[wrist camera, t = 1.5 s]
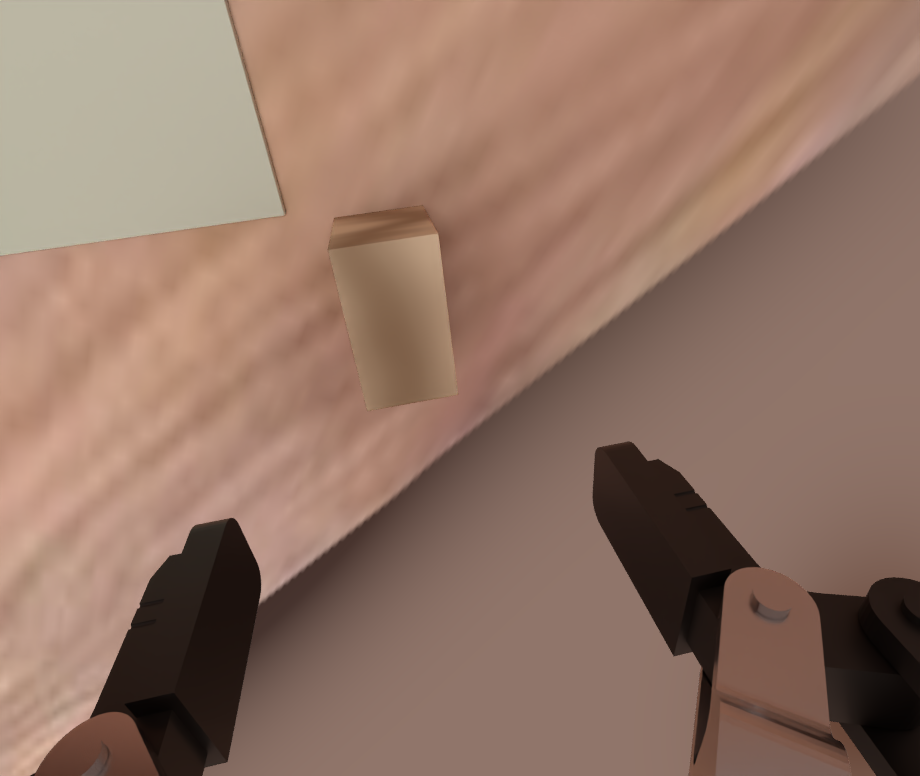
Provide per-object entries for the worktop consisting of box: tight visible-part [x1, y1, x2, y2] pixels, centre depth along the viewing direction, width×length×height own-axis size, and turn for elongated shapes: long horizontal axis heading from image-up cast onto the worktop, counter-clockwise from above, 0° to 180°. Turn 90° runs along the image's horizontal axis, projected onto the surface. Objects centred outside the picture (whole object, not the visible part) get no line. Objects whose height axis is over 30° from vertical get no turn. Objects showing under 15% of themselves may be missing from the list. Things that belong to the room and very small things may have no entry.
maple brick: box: [328, 205, 458, 411], centre depth 22 cm, size 4×7×6 cm, turn 6°
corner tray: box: [0, 0, 286, 256], centre depth 17 cm, size 14×13×2 cm
